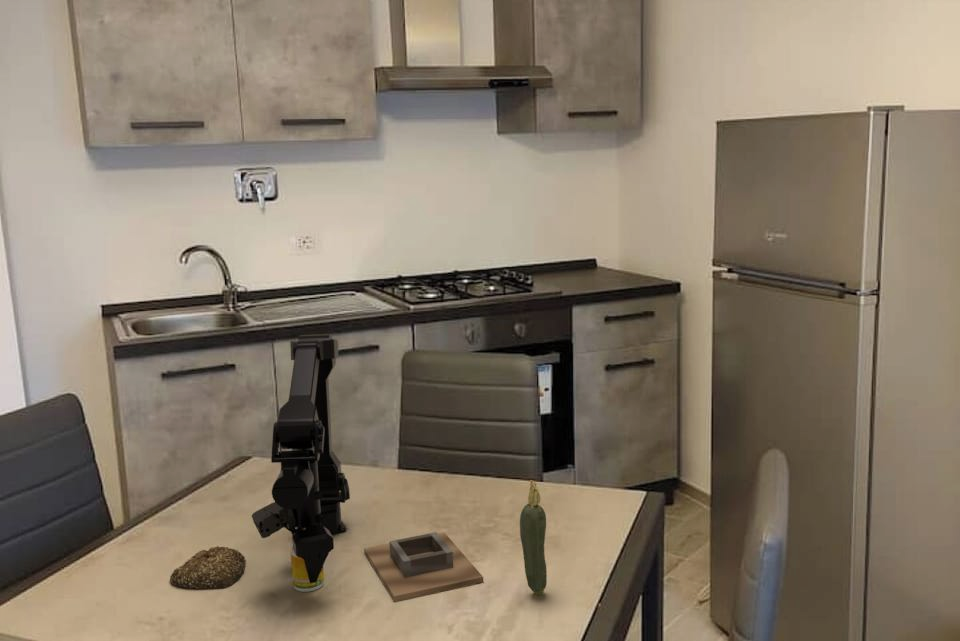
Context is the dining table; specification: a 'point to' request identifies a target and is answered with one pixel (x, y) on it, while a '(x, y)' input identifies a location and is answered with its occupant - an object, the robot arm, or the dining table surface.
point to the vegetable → (534, 541)
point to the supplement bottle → (303, 575)
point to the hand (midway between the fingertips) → (307, 570)
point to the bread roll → (210, 569)
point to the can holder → (421, 566)
